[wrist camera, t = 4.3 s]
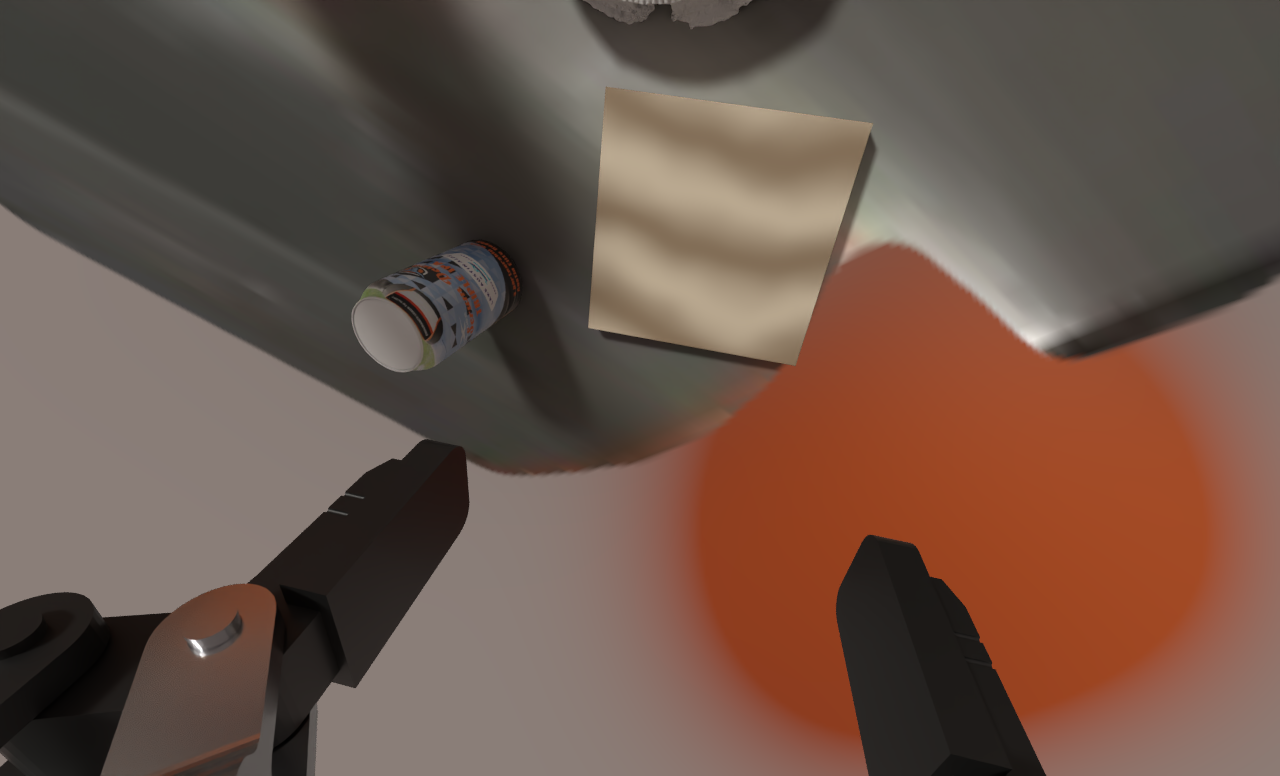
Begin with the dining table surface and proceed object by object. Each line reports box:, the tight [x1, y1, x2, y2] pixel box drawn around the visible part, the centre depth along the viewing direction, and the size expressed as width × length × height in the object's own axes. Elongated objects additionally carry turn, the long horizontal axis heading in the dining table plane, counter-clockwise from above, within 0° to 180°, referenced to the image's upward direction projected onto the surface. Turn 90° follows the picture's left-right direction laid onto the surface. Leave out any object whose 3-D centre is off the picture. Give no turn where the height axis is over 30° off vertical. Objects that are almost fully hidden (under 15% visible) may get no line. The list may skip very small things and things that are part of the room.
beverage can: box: [352, 240, 522, 372], centre depth 33 cm, size 6×7×12 cm
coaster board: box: [588, 87, 873, 366], centre depth 33 cm, size 16×16×2 cm
